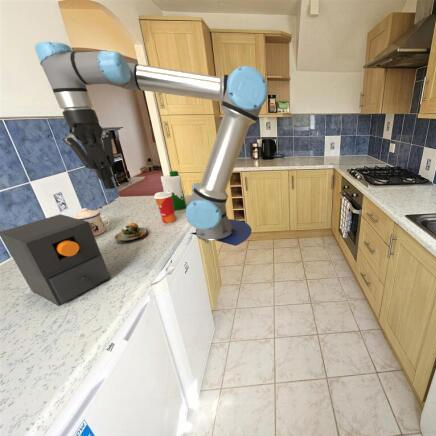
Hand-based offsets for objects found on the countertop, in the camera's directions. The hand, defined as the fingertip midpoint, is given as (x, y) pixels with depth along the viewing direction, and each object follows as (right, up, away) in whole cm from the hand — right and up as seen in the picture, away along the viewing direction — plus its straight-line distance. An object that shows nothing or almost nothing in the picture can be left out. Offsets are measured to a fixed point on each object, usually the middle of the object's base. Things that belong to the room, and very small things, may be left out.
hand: (110, 188), depth 79 cm
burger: (-8, -18, +24) cm, 31 cm away
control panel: (-9, -21, -8) cm, 25 cm away
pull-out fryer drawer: (-6, -30, -6) cm, 31 cm away
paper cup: (0, -11, +39) cm, 41 cm away
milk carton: (-4, -4, +55) cm, 56 cm away
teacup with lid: (-27, -16, +29) cm, 43 cm away
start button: (-1, -20, -13) cm, 24 cm away
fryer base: (-8, -30, -5) cm, 32 cm away
